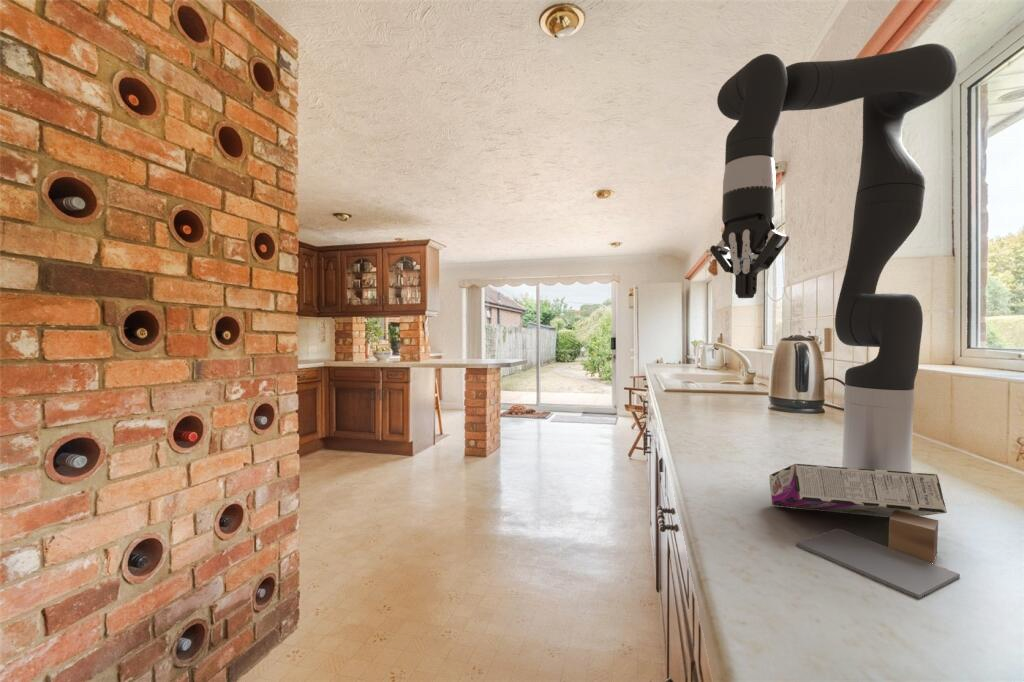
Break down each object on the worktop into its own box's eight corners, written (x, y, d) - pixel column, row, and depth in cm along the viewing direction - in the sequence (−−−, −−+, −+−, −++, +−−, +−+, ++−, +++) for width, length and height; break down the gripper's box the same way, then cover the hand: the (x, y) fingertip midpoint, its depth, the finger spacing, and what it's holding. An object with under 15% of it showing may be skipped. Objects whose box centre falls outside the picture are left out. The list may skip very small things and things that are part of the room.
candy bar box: (767, 472, 69) (889, 483, 66) (771, 506, 67) (897, 519, 64) (794, 460, 59) (940, 473, 56) (799, 499, 57) (950, 515, 54)
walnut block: (893, 541, 57) (894, 510, 56) (936, 553, 54) (938, 520, 53) (888, 551, 54) (889, 518, 54) (933, 564, 51) (934, 530, 51)
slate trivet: (838, 531, 59) (838, 528, 59) (959, 577, 48) (959, 573, 48) (796, 545, 55) (796, 542, 55) (918, 598, 44) (918, 594, 44)
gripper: (804, 183, 68) (800, 296, 68) (728, 204, 80) (725, 301, 80) (772, 175, 65) (769, 294, 65) (698, 198, 76) (696, 299, 77)
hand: (745, 297), depth 73 cm, fingers closed
